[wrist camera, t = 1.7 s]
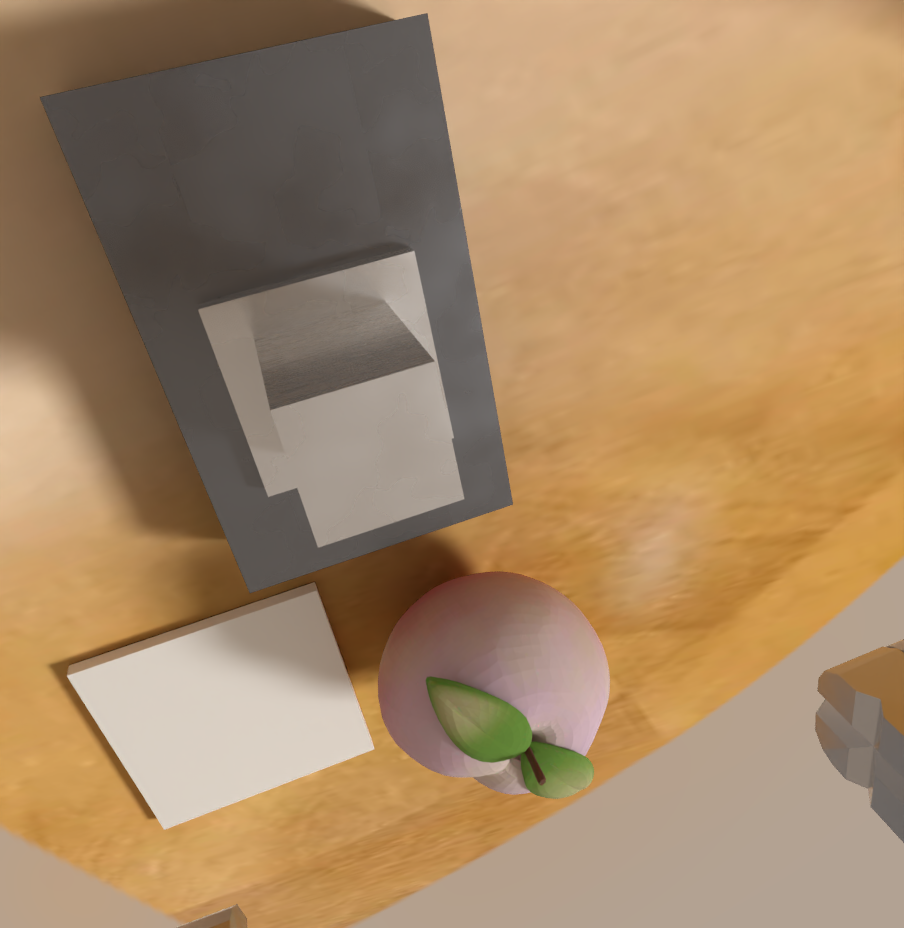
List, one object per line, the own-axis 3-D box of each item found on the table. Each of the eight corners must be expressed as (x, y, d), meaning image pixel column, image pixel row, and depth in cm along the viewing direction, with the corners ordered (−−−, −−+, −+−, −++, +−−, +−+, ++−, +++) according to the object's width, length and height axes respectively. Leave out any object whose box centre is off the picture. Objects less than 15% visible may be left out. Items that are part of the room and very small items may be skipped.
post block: (243, 540, 29) (249, 593, 26) (60, 93, 21) (39, 97, 18) (482, 462, 31) (513, 504, 28) (397, 20, 23) (427, 13, 20)
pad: (164, 818, 35) (164, 829, 34) (68, 665, 30) (66, 675, 29) (371, 739, 36) (374, 749, 36) (314, 582, 31) (316, 590, 31)
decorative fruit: (585, 570, 35) (709, 727, 27) (482, 694, 37) (567, 879, 29) (433, 486, 31) (524, 644, 22) (323, 632, 33) (369, 830, 24)
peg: (258, 444, 28) (286, 598, 20) (197, 275, 24) (199, 378, 16) (423, 394, 29) (513, 521, 21) (384, 226, 25) (473, 299, 17)
